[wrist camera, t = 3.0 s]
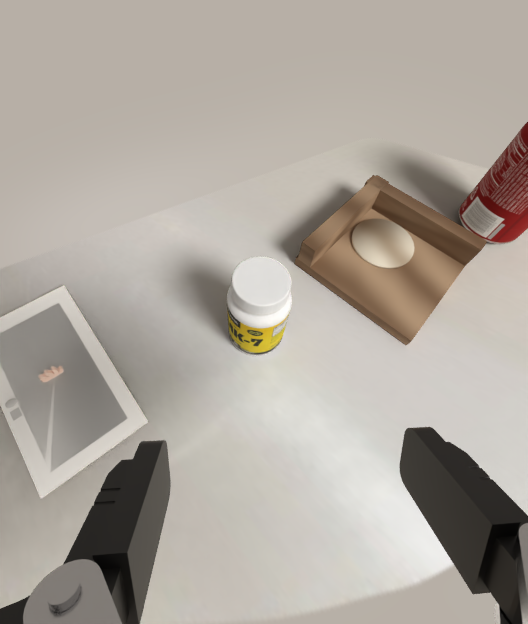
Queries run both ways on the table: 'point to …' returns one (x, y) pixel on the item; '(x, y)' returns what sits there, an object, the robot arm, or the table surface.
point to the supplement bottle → (258, 305)
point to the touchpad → (60, 390)
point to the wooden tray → (389, 256)
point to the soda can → (501, 196)
